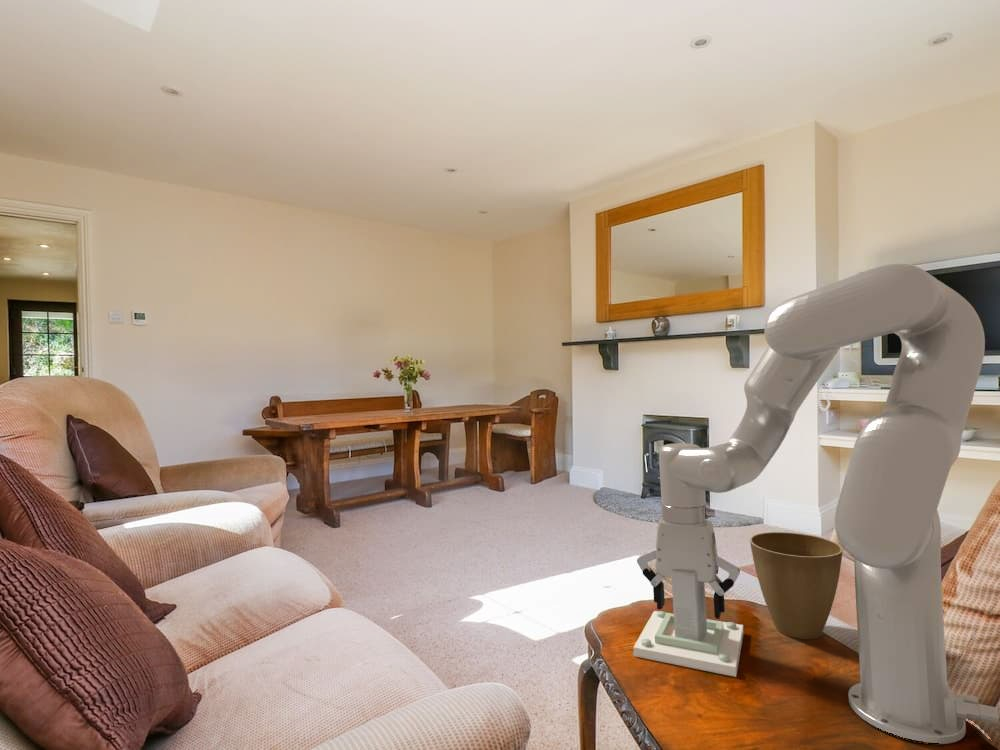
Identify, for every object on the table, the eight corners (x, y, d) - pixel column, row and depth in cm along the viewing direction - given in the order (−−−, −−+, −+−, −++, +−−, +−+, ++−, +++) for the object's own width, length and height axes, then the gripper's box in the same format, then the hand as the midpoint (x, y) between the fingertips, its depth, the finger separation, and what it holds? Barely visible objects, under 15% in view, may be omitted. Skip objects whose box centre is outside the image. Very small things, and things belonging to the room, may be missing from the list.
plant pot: (752, 641, 94) (747, 550, 94) (755, 608, 107) (751, 528, 107) (852, 657, 87) (847, 559, 87) (843, 621, 100) (838, 535, 100)
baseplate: (743, 633, 97) (742, 618, 97) (736, 676, 83) (735, 659, 83) (654, 618, 104) (653, 604, 104) (633, 656, 90) (633, 640, 90)
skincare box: (683, 626, 97) (680, 560, 97) (707, 631, 95) (704, 564, 95) (673, 640, 92) (670, 571, 92) (699, 646, 90) (695, 575, 90)
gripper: (738, 512, 93) (744, 610, 93) (640, 506, 102) (644, 596, 101) (735, 523, 87) (740, 628, 86) (629, 515, 95) (634, 611, 95)
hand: (688, 611), depth 94 cm, fingers open, 9 cm apart
